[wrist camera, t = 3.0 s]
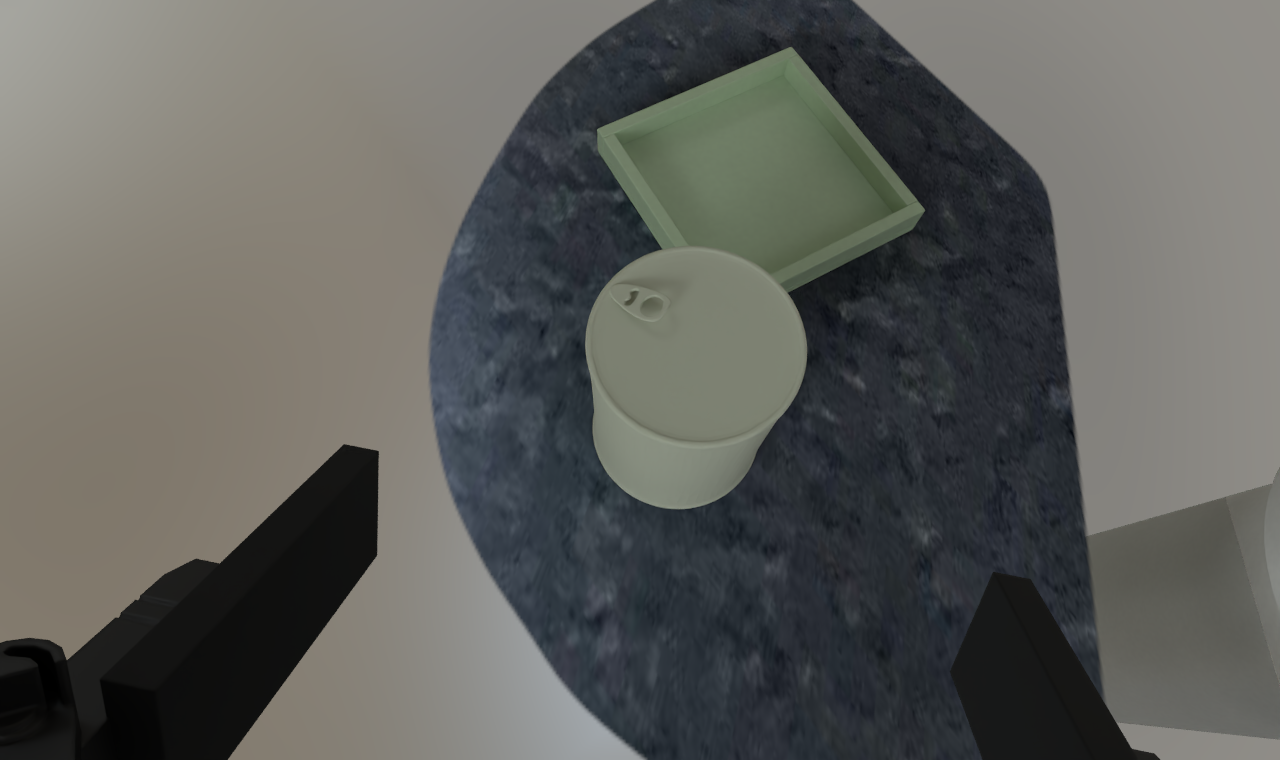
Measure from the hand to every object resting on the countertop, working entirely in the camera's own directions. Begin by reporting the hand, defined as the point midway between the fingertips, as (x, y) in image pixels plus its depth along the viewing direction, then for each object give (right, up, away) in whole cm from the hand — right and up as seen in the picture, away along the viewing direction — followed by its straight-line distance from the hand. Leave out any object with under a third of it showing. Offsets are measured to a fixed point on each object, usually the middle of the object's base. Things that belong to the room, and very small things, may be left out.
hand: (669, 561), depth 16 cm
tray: (+7, +16, +31) cm, 35 cm away
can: (+1, +1, +25) cm, 25 cm away
